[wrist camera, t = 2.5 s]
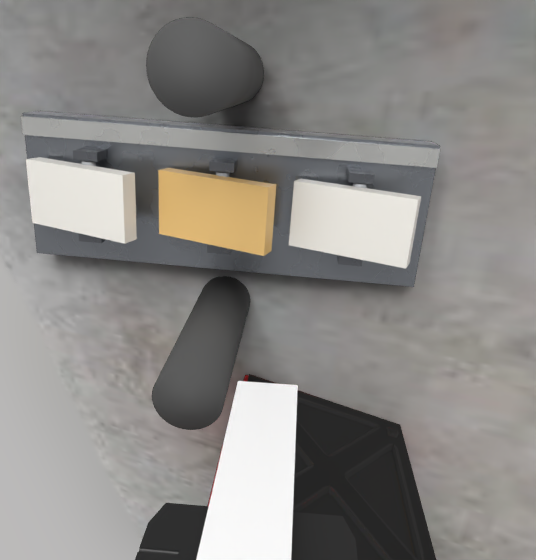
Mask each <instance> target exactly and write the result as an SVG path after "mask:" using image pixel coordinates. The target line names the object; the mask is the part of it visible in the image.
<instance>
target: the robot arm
mask: <svg viewBox="0 0 536 560" xmlns="http://www.w3.org/2000/svg"><path fill="white" fill-rule="evenodd" d="M297 389H298V385H289V384H275V383H260V382H246V381H238V383H237V387H236V392H235V396H234V400H233V404H232V409H231V413H230V417H229V422H228V426H227V430H226V434H225V439H224V443H223V447H222V451H221V456H220V460H219V464H218V469H217V473H216V477H215V481H214V486H213V490H212V494H211V499H210V503H209V506H197V505H185V504H173V503H166V504H165V505H164V506H163V507H162V508H161V509H160V510H159V511H158V513H157V514H156V515H155V516H154V517H153V518H152V519H151V520H150V522H149V523H148V525H147V528H146V531H145V534H144V536H143V539H142V542H141V545H140V549H139V552H138V553H137V556H136V559H135V560H358V558H357V549H356V539H355V537H354V535H353V534H352V532H351V530H350V528H349V526H348V525H347V523H346V521H345V519H344V517H343V516H336V515H324V514H312V513H300V512H293V497H294V470H295V443H296V416H297Z"/></svg>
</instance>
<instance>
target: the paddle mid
mask: <svg viewBox="0 0 536 560" xmlns="http://www.w3.org/2000/svg"><path fill="white" fill-rule="evenodd" d="M229 173H230V172H218V171H216V175H213V174H206V173H200V172H193V171H187V170H180V169H174V168H165V169H160V170H158V176H159V234H162V235H167V236H172V237H176V238H181V239H186V240H190V241H195V242H200V243H205V244H209V245H214V246H219V247H224V248H228V249H233V250H238V251H242V252H247V253H252V254H257V255H261V256H265V255H266V254H268V253H269V252H271V250H272V237H273V223H274V210H275V196H276V184H271V183H264V182H258V181H251V180H245V179H238V178H232V177H229Z"/></svg>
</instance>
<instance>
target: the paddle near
mask: <svg viewBox="0 0 536 560" xmlns="http://www.w3.org/2000/svg"><path fill="white" fill-rule="evenodd" d="M420 202H421V196H416V195H409V194H402V193H395V192H389V191H382V190H375V189H368V188H367V184H365V183H353V186H348V185H341V184H335V183H328V182H321V181H314V180H307V179H298V180H296V181H294V189H293V200H292V212H291V223H290V235H289V245H290V246H295V247H300V248H305V249H310V250H315V251H320V252H325V253H330V254H335V255H340V256H345V257H350V258H355V259H360V260H365V261H370V262H375V263H380V264H385V265H390V266H395V267H400V268H405V269H406V268H407V266H408V265H409V263H410V257H411V252H412V246H413V241H414V235H415V230H416V224H417V218H418V213H419V207H420Z"/></svg>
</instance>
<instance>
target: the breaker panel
mask: <svg viewBox="0 0 536 560" xmlns="http://www.w3.org/2000/svg"><path fill="white" fill-rule="evenodd" d="M21 124H22V134H23V135H25V141H26V151H27V159H30V158H37V157H42V158H48V159H54V160H60V161H66V162H73V163H79V164H81V161H82V160H84V161H96V166H97V167H103V168H109V169H115V170H121V171H128V172H134V173H135V197H136V235H137V239H136V240H133V241H131V242H128V243H125V244H124V243H120V242H115V241H111V240H106V239H102V238H98V237H93V236H89V235H84V234H80V233H75V232H71V231H67V230H62V229H58V228H53V227H49V226H45V225H40V224H36V223H34V229H35V239H36V249H37V253H44V254H55V255H66V256H78V257H89V258H100V259H111V260H122V261H133V262H144V263H155V264H166V265H177V266H188V267H199V268H211V269H222V270H233V271H244V272H255V273H266V274H277V275H288V276H299V277H310V278H321V279H332V280H344V281H355V282H366V283H377V284H388V285H399V286H410V287H414V282H415V277H416V272H417V266H418V261H419V256H420V250H421V245H422V240H423V234H424V229H425V223H426V218H427V213H428V207H429V202H430V197H431V191H432V186H433V180H434V175H435V170H436V168H437V165H438V160H439V155H440V149H439V148H440V145H438V144H436V143H434V142H432V141H421V140H408V139H395V138H382V137H369V136H357V135H344V134H331V133H318V132H305V131H292V130H279V129H267V128H254V127H241V126H228V125H215V124H202V123H189V122H177V121H164V120H151V119H138V118H125V117H112V116H100V115H87V114H74V113H61V112H48V111H35V112H27V113H23V116H21ZM165 168H174V169H180V170H187V171H193V172H200V173H206V174H213V175H216V171H218V172H230V173H229V177H232V178H238V179H245V180H251V181H258V182H264V183H271V184H276V196H275V210H274V223H273V237H272V250H271V252H269V253H268V254H266V255H265V256H261V255H257V254H252V253H247V252H242V251H238V250H233V249H228V248H224V247H219V246H214V245H209V244H205V243H200V242H195V241H190V240H186V239H181V238H176V237H172V236H167V235H162V234H159V176H158V170H160V169H165ZM298 179H307V180H314V181H321V182H328V183H335V184H341V185H348V186H353V183H365V184H367V188H368V189H375V190H382V191H389V192H395V193H402V194H409V195H416V196H421V202H420V207H419V213H418V218H417V224H416V230H415V235H414V241H413V246H412V252H411V257H410V263H409V265H408V266H407V268H406V269H405V268H400V267H395V266H390V265H385V264H380V263H375V262H370V261H365V260H360V259H355V258H350V257H345V256H340V255H335V254H330V253H325V252H320V251H315V250H310V249H305V248H300V247H295V246H290V245H289V235H290V223H291V212H292V200H293V189H294V181H296V180H298Z"/></svg>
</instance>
